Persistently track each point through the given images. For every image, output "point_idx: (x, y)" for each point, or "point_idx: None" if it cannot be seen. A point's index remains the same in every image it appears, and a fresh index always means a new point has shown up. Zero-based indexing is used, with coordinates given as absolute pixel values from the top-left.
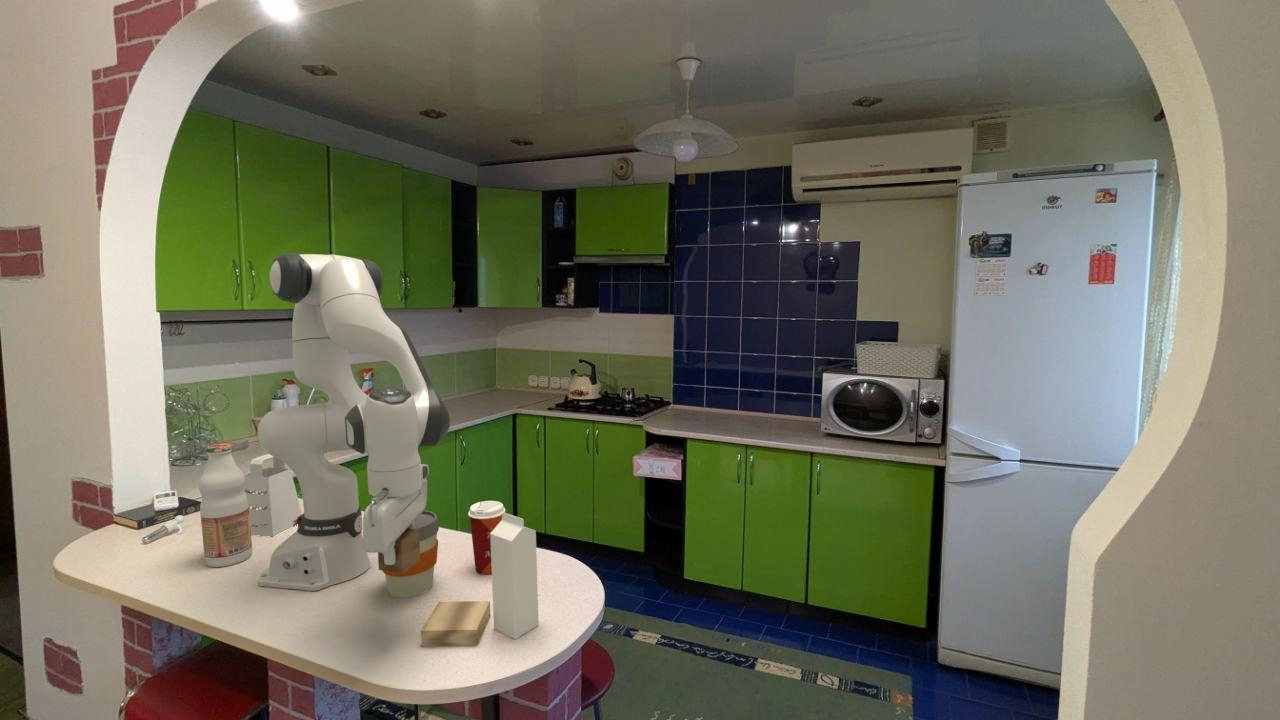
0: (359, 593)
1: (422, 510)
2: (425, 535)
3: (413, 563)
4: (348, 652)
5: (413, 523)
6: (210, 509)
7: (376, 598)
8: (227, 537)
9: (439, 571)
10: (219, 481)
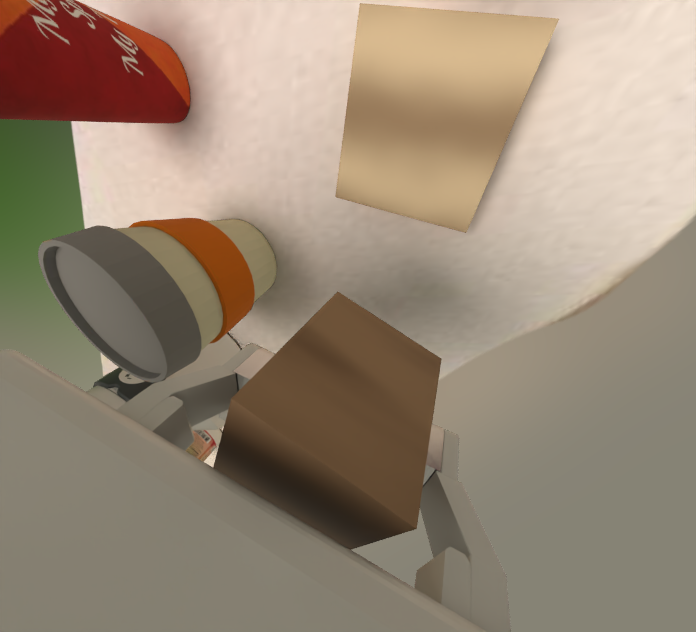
0: (264, 329)
1: (21, 373)
2: (145, 265)
3: (375, 323)
4: (429, 346)
5: (158, 397)
6: None
7: (278, 308)
8: (194, 454)
9: (194, 209)
10: None
